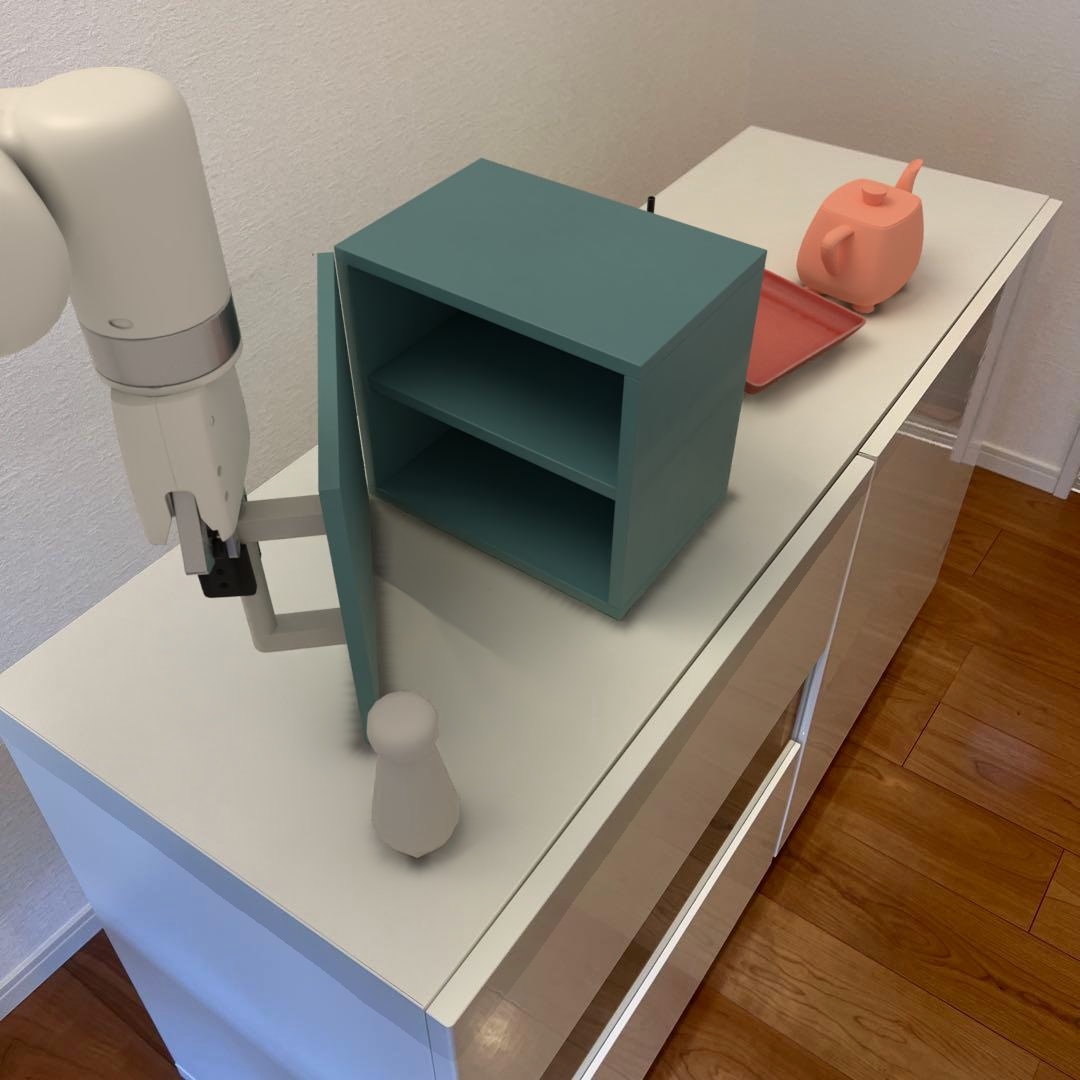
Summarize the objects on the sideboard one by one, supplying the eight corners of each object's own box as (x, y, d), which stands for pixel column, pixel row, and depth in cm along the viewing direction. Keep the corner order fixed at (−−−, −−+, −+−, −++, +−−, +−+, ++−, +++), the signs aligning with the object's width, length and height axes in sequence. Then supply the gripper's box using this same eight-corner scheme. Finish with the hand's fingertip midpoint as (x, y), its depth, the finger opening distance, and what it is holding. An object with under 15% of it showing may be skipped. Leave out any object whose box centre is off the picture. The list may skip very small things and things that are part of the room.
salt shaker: (427, 777, 75) (412, 657, 66) (479, 832, 72) (471, 715, 63) (357, 826, 72) (332, 709, 63) (408, 886, 69) (389, 771, 60)
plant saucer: (732, 278, 123) (736, 251, 120) (864, 344, 113) (871, 317, 111) (621, 338, 114) (623, 310, 112) (754, 415, 104) (758, 387, 102)
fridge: (619, 621, 85) (641, 366, 68) (368, 493, 96) (332, 245, 79) (726, 497, 96) (768, 249, 79) (489, 394, 107) (481, 157, 90)
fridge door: (274, 754, 76) (200, 501, 59) (281, 504, 95) (227, 259, 78) (382, 741, 77) (339, 488, 60) (368, 496, 96) (333, 251, 79)
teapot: (860, 341, 114) (886, 238, 105) (763, 302, 119) (780, 201, 111) (942, 266, 125) (972, 167, 116) (850, 234, 130) (872, 137, 122)
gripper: (118, 254, 60) (192, 497, 73) (50, 430, 49) (152, 681, 62) (253, 248, 61) (303, 491, 74) (217, 422, 50) (283, 673, 62)
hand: (233, 576), depth 68 cm, fingers closed on fridge door, 2 cm apart
